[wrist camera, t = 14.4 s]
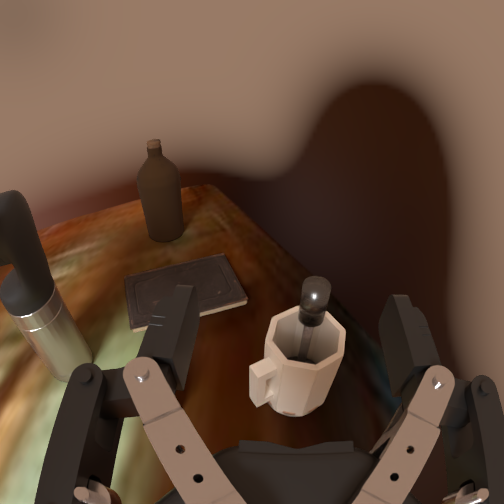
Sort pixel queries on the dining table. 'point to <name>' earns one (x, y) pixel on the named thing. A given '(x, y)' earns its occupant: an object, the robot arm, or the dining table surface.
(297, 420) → the dining table surface
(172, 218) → the olive oil
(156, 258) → the dining table surface
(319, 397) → the octagonal white mug
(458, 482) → the robot arm
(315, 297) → the plunger
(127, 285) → the hardcover book
